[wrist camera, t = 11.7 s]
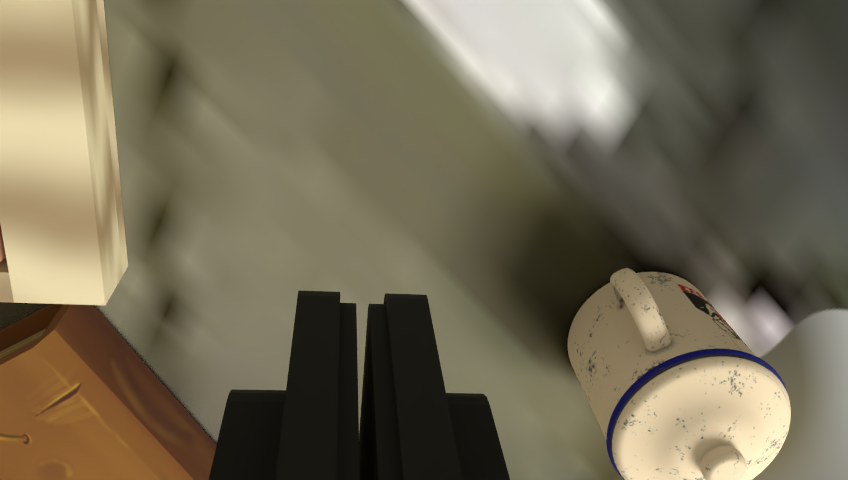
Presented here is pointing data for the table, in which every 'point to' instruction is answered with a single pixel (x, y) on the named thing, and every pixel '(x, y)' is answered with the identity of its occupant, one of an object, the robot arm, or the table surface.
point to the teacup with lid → (675, 383)
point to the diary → (89, 406)
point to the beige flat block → (58, 155)
